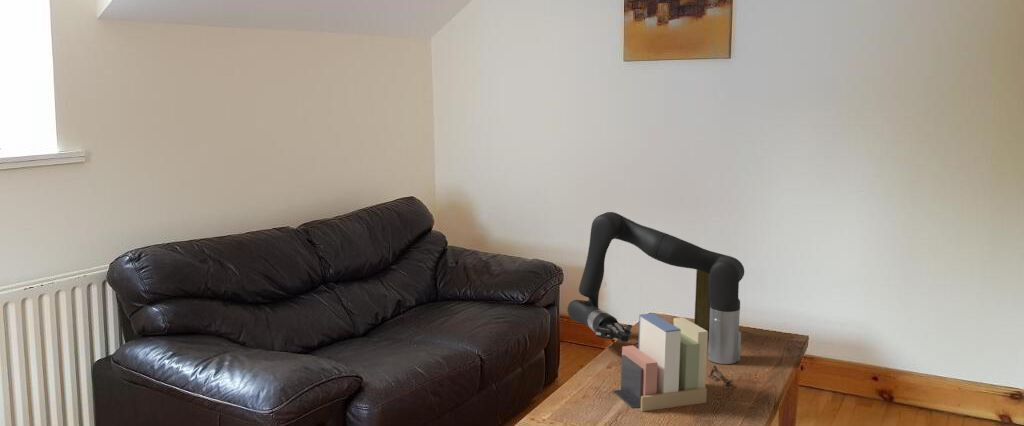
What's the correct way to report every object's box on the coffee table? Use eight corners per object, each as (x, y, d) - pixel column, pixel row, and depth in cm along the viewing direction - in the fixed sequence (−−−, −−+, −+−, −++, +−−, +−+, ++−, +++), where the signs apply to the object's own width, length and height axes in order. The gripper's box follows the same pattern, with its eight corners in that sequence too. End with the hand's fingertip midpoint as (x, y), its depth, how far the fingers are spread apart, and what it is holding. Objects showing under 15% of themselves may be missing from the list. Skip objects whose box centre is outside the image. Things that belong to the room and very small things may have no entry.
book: (694, 325, 310) (696, 258, 306) (709, 326, 309) (712, 259, 305) (694, 339, 294) (697, 269, 290) (710, 341, 293) (713, 270, 289)
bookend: (623, 390, 249) (624, 354, 247) (642, 406, 237) (643, 368, 235) (613, 392, 248) (614, 355, 246) (631, 408, 236) (632, 370, 234)
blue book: (651, 384, 254) (653, 313, 250) (677, 405, 239) (680, 329, 235) (636, 386, 252) (639, 314, 248) (663, 407, 237) (665, 330, 233)
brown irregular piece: (709, 373, 261) (714, 362, 258) (726, 391, 255) (731, 380, 253) (705, 374, 260) (710, 363, 257) (722, 392, 254) (727, 381, 252)
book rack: (680, 381, 256) (682, 317, 253) (709, 402, 241) (712, 333, 237) (616, 389, 250) (618, 323, 246) (642, 411, 234) (644, 341, 231)
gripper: (584, 314, 278) (606, 329, 262) (621, 310, 282) (645, 324, 266) (584, 336, 279) (606, 353, 263) (620, 332, 283) (645, 348, 267)
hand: (625, 338), depth 264 cm, fingers closed
